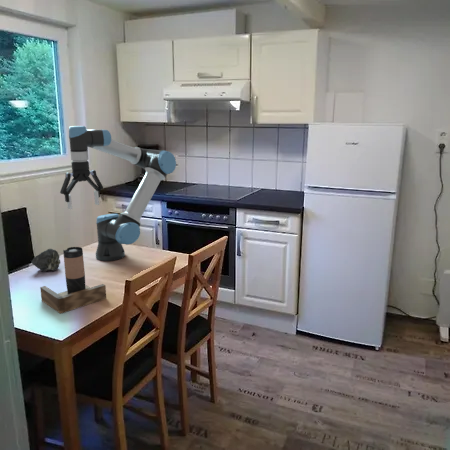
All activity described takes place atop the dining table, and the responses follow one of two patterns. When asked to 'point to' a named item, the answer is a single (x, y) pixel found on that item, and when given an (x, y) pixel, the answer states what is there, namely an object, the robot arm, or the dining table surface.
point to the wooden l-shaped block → (72, 298)
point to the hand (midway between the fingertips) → (83, 206)
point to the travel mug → (74, 269)
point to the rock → (47, 260)
